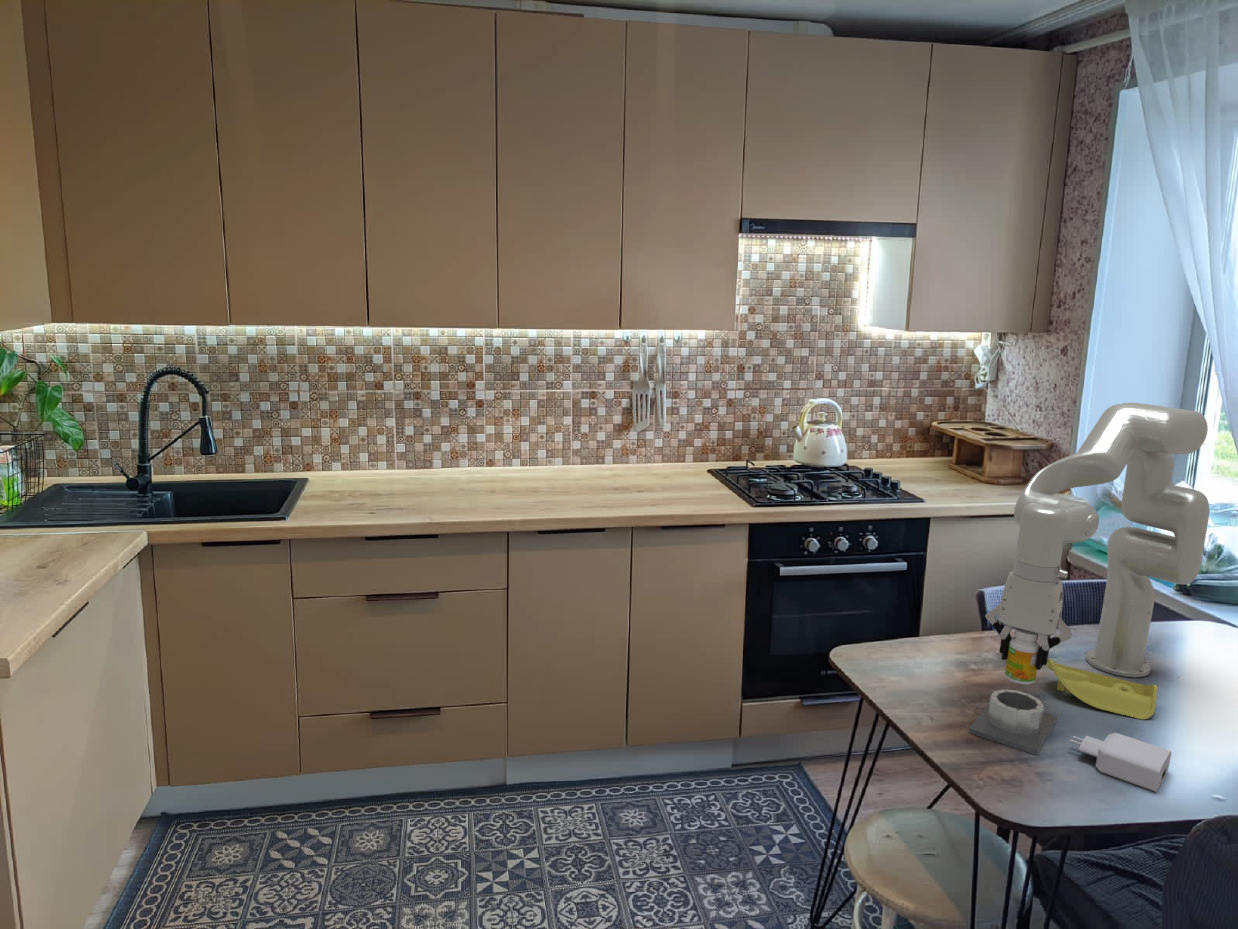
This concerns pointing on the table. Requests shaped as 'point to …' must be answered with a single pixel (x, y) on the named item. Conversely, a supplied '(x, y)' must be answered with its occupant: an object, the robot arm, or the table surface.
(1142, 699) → the plastic component
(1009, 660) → the supplement bottle
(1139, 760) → the charger
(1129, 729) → the table surface
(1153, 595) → the robot arm
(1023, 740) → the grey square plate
